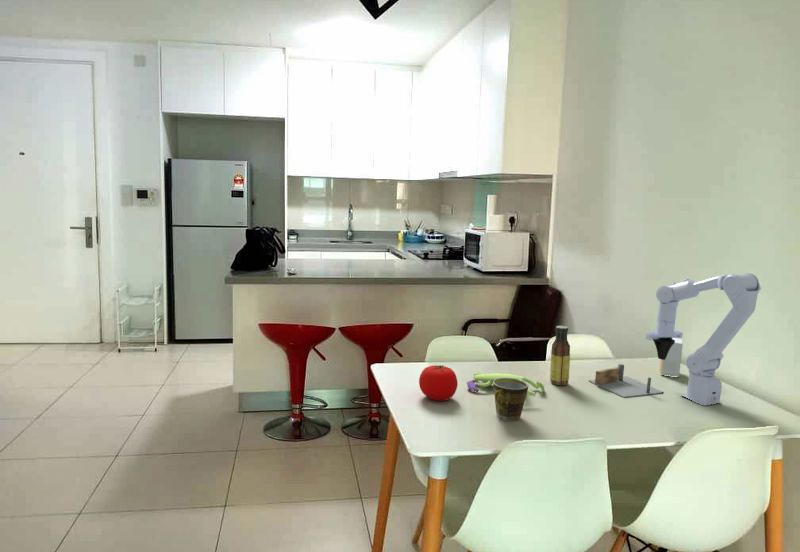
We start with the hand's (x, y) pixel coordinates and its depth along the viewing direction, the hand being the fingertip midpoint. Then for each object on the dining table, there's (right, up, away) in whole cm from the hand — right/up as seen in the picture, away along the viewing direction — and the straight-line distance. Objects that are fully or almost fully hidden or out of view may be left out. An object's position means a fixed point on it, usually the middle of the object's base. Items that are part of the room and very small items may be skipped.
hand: (661, 358), depth 214 cm
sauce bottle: (-36, -8, -2) cm, 37 cm away
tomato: (-79, -10, -22) cm, 82 cm away
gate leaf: (-19, -8, 0) cm, 21 cm away
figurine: (-56, -9, -12) cm, 58 cm away
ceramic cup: (-60, -12, -35) cm, 71 cm away
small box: (+9, -8, +15) cm, 19 cm away
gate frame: (-13, -9, -2) cm, 17 cm away
